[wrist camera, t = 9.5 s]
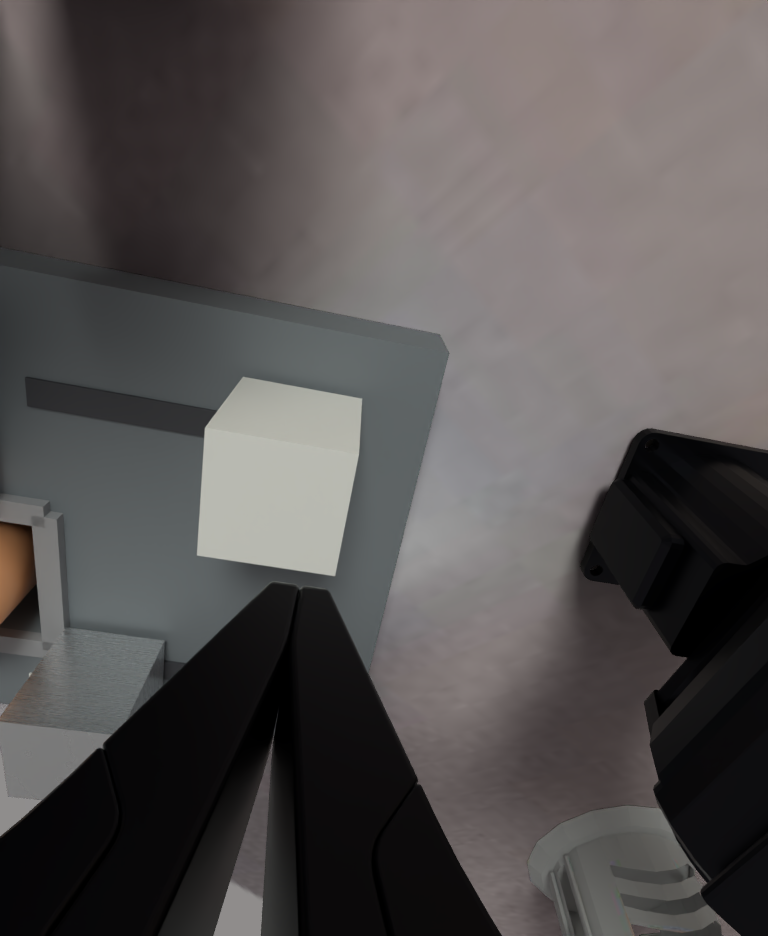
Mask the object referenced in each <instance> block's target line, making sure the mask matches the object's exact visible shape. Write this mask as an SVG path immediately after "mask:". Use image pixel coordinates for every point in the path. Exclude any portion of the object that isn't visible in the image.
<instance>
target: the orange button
mask: <svg viewBox="0 0 768 936" xmlns="http://www.w3.org/2000/svg"><path fill="white" fill-rule="evenodd" d="M36 584H37V578H36V567H35V556H34V545H33V534H32V526H29V525H23V524H16V523H9V522H3V521H0V624H1V623H2V622H3V621H4V620H5V619H6V618H7V617H8V615H9V614H10V613H11V612H12V611H13V610H14V609H15V608H16V606H17V605H18V604H19V603H20V602H21V601H22V600H23V598H24V597H25V596H26V595H27V594H28V593H29V592H30V591H31V589H32V588H33V587H34V586H35V585H36Z"/></svg>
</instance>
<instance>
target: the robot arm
mask: <svg viewBox="0 0 768 936" xmlns="http://www.w3.org/2000/svg"><path fill="white" fill-rule="evenodd" d="M651 439H654V443H653V444H652V446H650V447H648V448H645V444H646V443H647V441H649V440H651ZM590 539H591V541H590V543H589V546H588V548H587V550H586V553H585V555H584V557H583V560H582V562H581V566H580V567H581V570H582V572H583V574H584V576H585V577H586V578H587V579H589V580H592V581H598V582H604V583H610V584H617V585H620V586H621V588H622V589H623V591H624V592H625V594H626V596H627V597H628V599H629V600H630V602H631V603H632V605H633V606H634V607H635V608H636V609H642V610H643V611H644V612H645V614H646V615H647V617H648V618H649V620H650V622H651V623H652V625H653V626H654V628H655V629H656V631H657V632H658V634H659V635H660V637H661V638H662V640H663V641H664V643H665V644H666V646H667V647H668V649H669V650H670V652H671V653H672V654H673V655H675V656H681V657H687V659H686V660H685V661H684V663H683V664H682V665H681V666H680V667H679V668H678V669H677V671H676V672H675V673H674V674H673V675H672V676H671V677H670V678H669V680H668V681H667V682H666V683H665V684H664V685H663V686H662V688H661V689H660V690H654V691H653V692H652V693H651V695H650V696H649V697H648V698H647V699H646V700H645V701H644V705H645V711H646V716H647V721H648V726H649V732H650V737H651V740H650V748H651V752H652V755H653V759H654V763H655V767H656V771H657V775H658V779H659V781H658V782H657V783H656V784H655V785H654V789H653V790H654V793H655V797H656V800H657V803H658V805H659V807H660V809H661V811H662V813H663V814H664V816H665V818H666V820H667V822H668V824H669V826H670V827H671V829H672V831H673V833H674V836H675V838H676V840H677V842H678V843H679V845H680V847H681V848H682V850H683V851H684V853H685V854H686V856H687V858H688V859H689V861H690V862H691V863H692V865H693V866H694V867H695V868H696V870H697V871H698V872H699V873H700V875H701V876H702V877H703V879H704V880H705V881H706V882H707V884H706V885H705V886H703V887H702V888H701V895H702V897H703V899H704V901H705V902H706V904H707V905H708V906H709V907H710V908H711V909H713V910H714V911H715V912H716V913H717V914H718V915H719V916H720V917H721V918H722V919H724V920H725V921H726V922H727V923H728V924H729V925H730V926H731V927H732V928H733V929H735V930H736V931H737V932H738V933H739V934H740V935H741V936H768V450H763V449H758V448H753V447H747V446H742V445H737V444H732V443H726V442H721V441H716V440H710V439H705V438H700V437H694V436H689V435H684V434H679V433H673V432H668V431H663V430H657V429H645V430H642V431H641V432H639V433H638V434H637V435H636V437H635V438H634V440H633V443H632V445H631V447H630V450H629V452H628V454H627V457H626V459H625V461H624V464H623V466H622V468H621V471H620V473H619V475H618V478H617V480H615V481H614V482H613V483H612V484H611V486H610V489H609V491H608V493H607V496H606V498H605V501H604V503H603V505H602V508H601V510H600V512H599V515H598V517H597V519H596V522H595V524H594V526H593V529H592V531H591V533H590ZM595 565H599V566H598V567H597V568H596V569H594V570H590V569H591V568H592V567H593V566H595ZM298 595H299V596H298ZM277 714H278V715H277ZM276 720H277V721H276ZM275 725H276V727H275ZM274 730H275V734H274ZM273 735H274V741H273V749H272V760H271V776H270V792H269V809H268V826H267V842H266V859H265V876H264V892H263V910H262V926H261V927H262V928H261V936H502V935H501V933H500V932H499V930H498V929H497V927H496V925H495V924H494V922H493V920H492V919H491V917H490V915H489V914H488V912H487V910H486V908H485V907H484V905H483V903H482V901H481V900H480V898H479V896H478V895H477V893H476V891H475V889H474V888H473V886H472V884H471V882H470V881H469V879H468V877H467V875H466V874H465V872H464V870H463V868H462V867H461V865H460V863H459V862H458V860H457V858H456V856H455V854H454V852H453V850H452V848H451V846H450V844H449V842H448V840H447V838H446V836H445V834H444V832H443V830H442V828H441V826H440V824H439V822H438V820H437V818H436V816H435V814H434V812H433V810H432V808H431V805H430V803H429V801H428V799H427V797H426V795H425V793H424V790H423V788H422V786H421V785H419V784H417V782H418V779H417V776H416V774H415V772H414V770H413V768H412V766H411V763H410V761H409V759H408V757H407V755H406V753H405V751H404V748H403V746H402V744H401V742H400V740H399V738H398V736H397V734H396V731H395V729H394V727H393V725H392V723H391V721H390V719H389V717H388V714H387V712H386V710H385V708H384V706H383V704H382V702H381V699H380V697H379V695H378V693H377V691H376V689H375V687H374V685H373V682H372V680H371V678H370V676H369V674H368V672H367V670H366V668H365V665H364V663H363V661H362V659H361V657H360V655H359V653H358V650H357V648H356V646H355V644H354V642H353V640H352V638H351V636H350V633H349V631H348V629H347V627H346V625H345V623H344V621H343V619H342V616H341V614H340V612H339V610H338V608H337V606H336V604H335V601H334V599H333V597H332V595H331V593H330V591H329V590H327V589H325V588H318V587H311V586H302V587H301V588H300V591H299V587H298V585H296V584H291V583H284V582H277V581H273V582H270V583H269V584H268V585H267V586H266V587H265V588H264V589H263V590H262V591H261V592H259V593H258V594H257V595H256V596H255V597H254V598H253V599H252V600H251V601H250V602H249V603H248V604H247V605H246V606H245V607H244V608H243V609H242V610H241V611H240V612H239V613H238V614H237V615H236V616H235V617H234V618H232V619H231V620H230V621H229V622H228V623H227V624H226V625H225V626H224V627H223V628H222V629H221V630H220V631H219V632H218V633H217V634H216V635H215V636H214V637H213V638H212V639H211V640H210V641H209V642H208V643H207V644H205V645H204V646H203V647H202V648H201V649H200V650H199V651H198V652H197V653H196V654H195V655H194V656H193V657H192V658H191V659H190V660H189V661H188V662H187V663H186V664H185V665H184V666H183V667H182V668H181V669H180V670H178V671H177V672H176V673H175V674H174V675H173V676H172V677H171V678H170V679H169V680H168V681H167V682H166V683H165V684H164V685H163V686H162V687H161V688H160V689H159V690H158V691H157V692H156V693H155V694H154V695H152V696H151V697H150V698H149V699H148V700H147V701H146V702H145V703H144V704H143V705H142V706H141V707H140V708H139V709H138V710H137V711H136V712H135V713H134V714H133V715H132V716H131V717H130V718H129V719H128V720H127V721H125V722H124V723H123V724H122V725H121V726H120V727H119V728H118V729H117V730H116V731H115V732H114V733H113V734H112V735H111V736H110V737H109V738H108V739H107V740H106V741H105V742H104V743H103V749H102V748H97V749H96V750H95V751H94V752H93V753H92V754H91V755H90V756H89V757H88V758H87V759H86V760H85V761H84V762H82V763H81V764H80V765H79V766H78V767H77V768H76V769H75V770H74V771H73V772H72V773H71V774H70V775H69V776H68V777H67V778H66V779H65V780H64V781H63V782H61V783H60V784H59V785H58V786H57V787H56V788H55V789H54V790H53V791H52V792H51V793H49V794H48V795H47V796H46V797H45V798H44V799H43V800H42V801H41V802H40V803H38V804H37V805H36V806H35V807H34V808H33V809H32V810H31V811H30V812H29V813H28V814H26V815H25V816H24V817H23V818H22V819H21V820H20V821H18V822H17V823H16V824H15V825H14V826H12V827H11V828H10V829H9V830H8V831H6V832H5V833H4V834H3V835H2V836H0V936H213V934H214V931H215V928H216V925H217V921H218V918H219V915H220V912H221V908H222V905H223V902H224V899H225V895H226V892H227V889H228V886H229V882H230V879H231V876H232V873H233V869H234V866H235V863H236V860H237V856H238V853H239V850H240V847H241V843H242V840H243V837H244V834H245V831H246V827H247V824H248V821H249V818H250V814H251V811H252V808H253V805H254V801H255V798H256V795H257V792H258V788H259V785H260V782H261V779H262V775H263V772H264V769H265V766H266V762H267V759H268V755H269V751H270V748H271V744H272V740H273Z"/></svg>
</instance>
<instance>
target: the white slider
mask: <svg viewBox="0 0 768 936" xmlns="http://www.w3.org/2000/svg"><path fill="white" fill-rule="evenodd" d="M361 411H362V399H361V398H356V397H351V396H345V395H340V394H334V393H329V392H323V391H318V390H313V389H307V388H302V387H296V386H291V385H285V384H280V383H275V382H269V381H264V380H258V379H253V378H247V377H243V378H242V379H241V380H240V382H239V383H238V384H237V385H236V387H235V388H234V389H233V391H232V392H231V393H230V395H229V396H228V397H227V399H226V400H225V401H224V403H223V404H222V405H221V407H220V408H219V409H218V411H217V412H216V413H215V415H214V416H213V417H212V419H211V420H210V421H209V423H208V424H207V425H206V427H205V434H204V450H203V466H202V482H201V498H200V514H199V530H198V546H197V556H204V557H211V558H217V559H224V560H231V561H237V562H244V563H250V564H257V565H264V566H270V567H277V568H284V569H290V570H297V571H304V572H310V573H317V574H324V575H330V576H335V574H336V569H337V564H338V559H339V554H340V548H341V543H342V538H343V533H344V528H345V523H346V518H347V513H348V508H349V503H350V498H351V493H352V487H353V482H354V477H355V472H356V467H357V462H358V457H359V446H360V429H361Z"/></svg>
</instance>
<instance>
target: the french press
mask: <svg viewBox="0 0 768 936" xmlns="http://www.w3.org/2000/svg"><path fill="white" fill-rule="evenodd" d="M527 865H528V870H529V876H530V881H531V882H532V883H533V884H534V885H535V886H536V887H537V888H538V889H539V890H540V891H541V892H542V893H543V894H544V895H545V896H547V897H548V898H549V899H551V900H552V901H553V902H554V906H555V910H556V913H557V917H558V921H559V925H560V929H561V933H562V936H635V935H634V932H633V929H632V926H631V925H633V924H634V925H639V926H643V927H648V928H652V929H659V930H660V932H661V933H652V934H642V935H639V936H723V935H722V933H721V924H720V922H719V920H718V918H717V916H716V913H715V911H714V910H713V909H711V908H710V907H709V906H708V905H707V904H706V902H705V901H704V899H703V897H702V895H701V896H700V894H699V892H700V891H701V888H702V885H701V883H700V881H699V880H698V879H697V878H696V877H695V870H694V866H693V865H692V863H691V862H690V861H689V859H688V858H687V856H686V854H685V853H684V851H683V850H682V848H681V847H680V845H679V843H678V842H677V840H676V838H675V836H674V833H673V831H672V829H671V827H670V826H669V824H668V822H667V820H666V818H665V816H664V814H663V813H662V811H661V809H659V808H650V807H640V806H630V805H626V806H619V807H613V808H606V809H599V810H593V811H589V812H587V813H585V814H582V815H580V816H577V817H575V818H572V819H570V820H568V821H565V822H563V823H560V824H559V825H557V826H556V827H555V828H554V829H552V830H551V831H550V832H549V833H548V834H546V835H545V836H544V837H543V838H541V839H540V840H539V841H538V842H537V843H536V845H535V847H534V849H533V851H532V853H531V855H530V857H529V859H528V861H527ZM713 922H714V923H713Z"/></svg>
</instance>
